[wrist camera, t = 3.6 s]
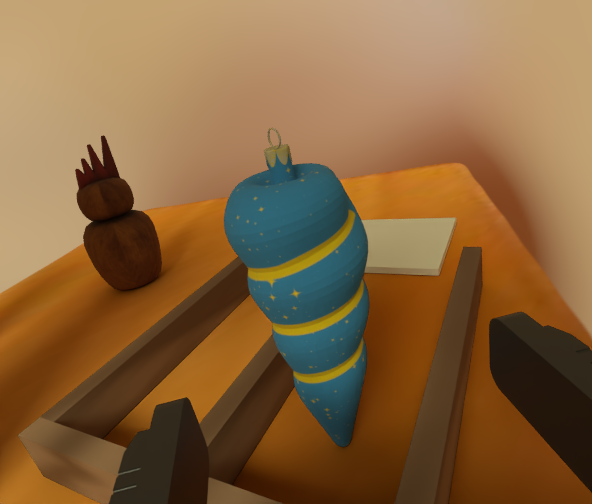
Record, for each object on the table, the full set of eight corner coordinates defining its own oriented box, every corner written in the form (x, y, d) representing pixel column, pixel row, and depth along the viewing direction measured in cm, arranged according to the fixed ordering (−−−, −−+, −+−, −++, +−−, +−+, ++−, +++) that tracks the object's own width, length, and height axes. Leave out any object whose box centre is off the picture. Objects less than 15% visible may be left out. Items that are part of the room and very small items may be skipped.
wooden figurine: (168, 263, 47) (121, 130, 41) (172, 281, 42) (119, 133, 36) (107, 282, 45) (49, 147, 40) (104, 304, 40) (36, 152, 34)
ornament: (338, 514, 17) (249, 147, 11) (268, 443, 21) (177, 147, 15) (417, 437, 19) (379, 107, 14) (342, 387, 23) (288, 116, 18)
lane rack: (43, 476, 22) (17, 435, 21) (259, 273, 40) (252, 245, 38) (424, 655, 12) (416, 598, 11) (482, 283, 30) (481, 247, 29)
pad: (295, 269, 39) (293, 264, 38) (336, 225, 47) (335, 220, 47) (439, 275, 32) (438, 268, 32) (456, 223, 41) (456, 217, 41)
